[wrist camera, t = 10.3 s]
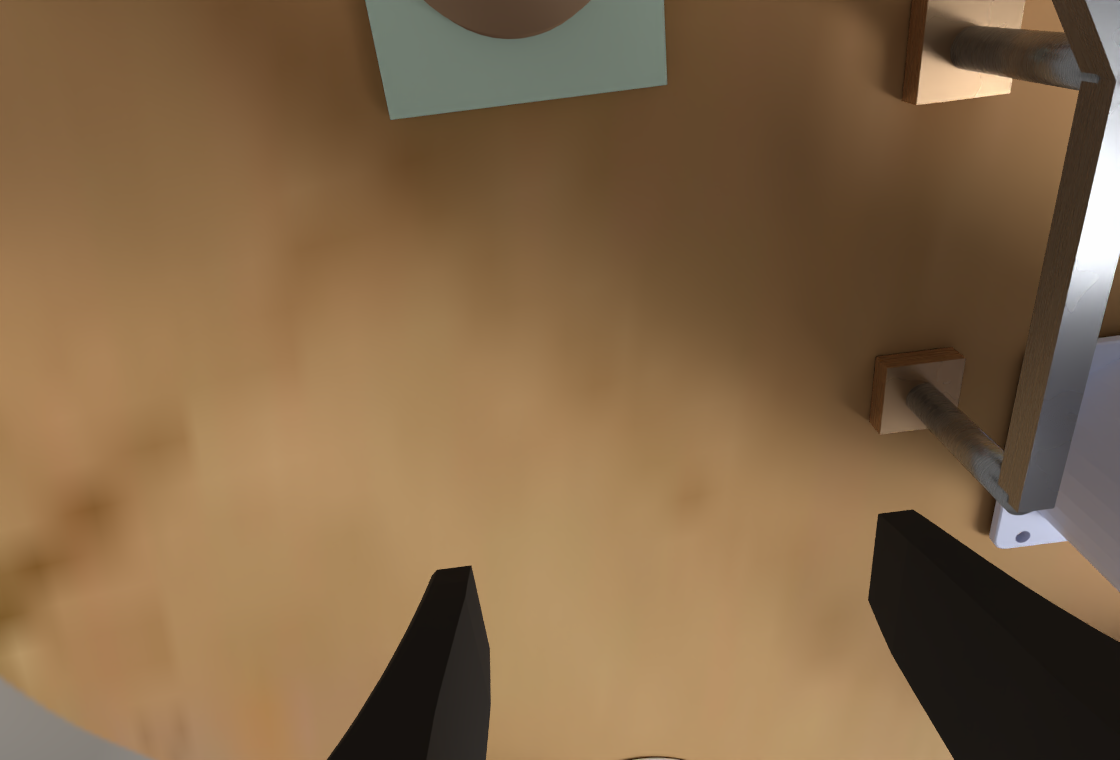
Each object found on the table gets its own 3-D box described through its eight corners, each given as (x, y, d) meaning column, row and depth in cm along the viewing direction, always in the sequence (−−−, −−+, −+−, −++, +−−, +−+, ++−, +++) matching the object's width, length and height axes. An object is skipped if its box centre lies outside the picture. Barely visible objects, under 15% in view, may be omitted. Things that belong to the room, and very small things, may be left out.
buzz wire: (1078, -468, 15) (1439, -758, 9) (941, 412, 24) (1073, 542, 19) (707, -421, 15) (833, -680, 9) (718, 440, 24) (781, 579, 19)
